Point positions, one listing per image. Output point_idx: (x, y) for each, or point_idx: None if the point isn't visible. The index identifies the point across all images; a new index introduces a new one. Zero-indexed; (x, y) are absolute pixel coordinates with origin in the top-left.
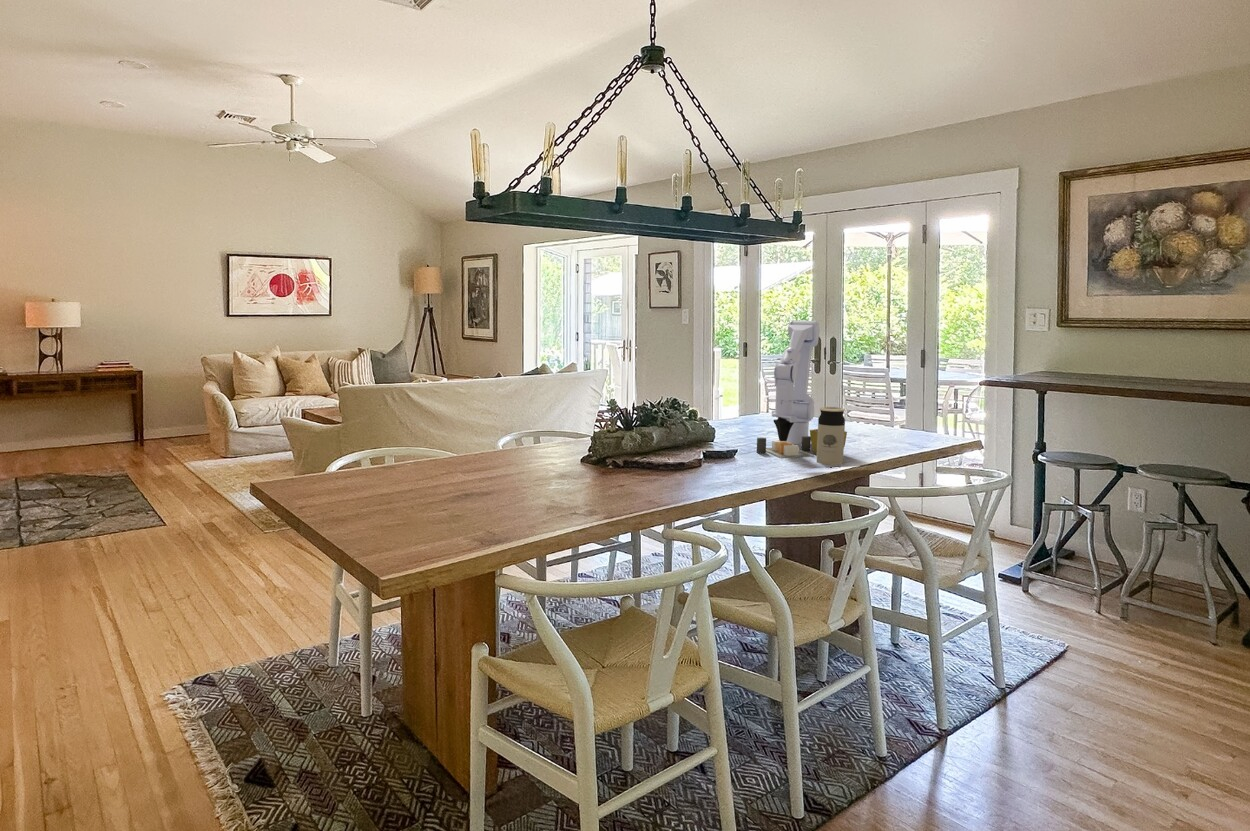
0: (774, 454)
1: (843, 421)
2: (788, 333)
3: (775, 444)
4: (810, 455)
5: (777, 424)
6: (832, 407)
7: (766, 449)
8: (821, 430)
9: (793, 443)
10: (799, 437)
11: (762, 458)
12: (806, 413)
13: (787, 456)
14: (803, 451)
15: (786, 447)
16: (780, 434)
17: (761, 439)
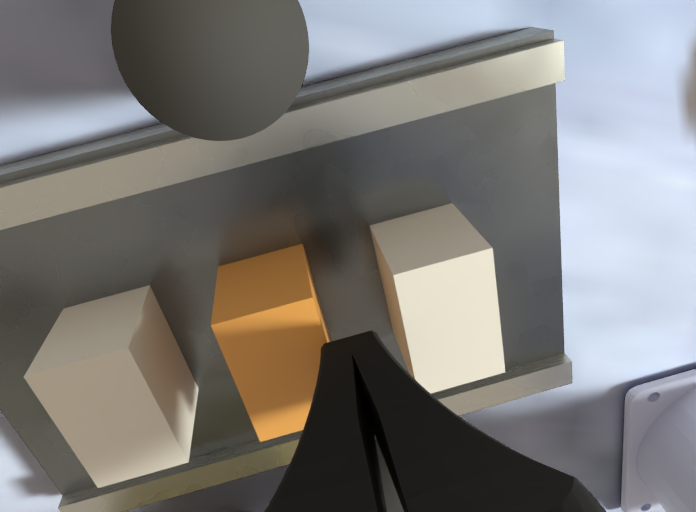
0: (37, 175)
1: None
2: None
3: (385, 260)
4: (69, 500)
5: (404, 501)
6: None
7: (354, 125)
8: None
9: (681, 420)
10: (693, 503)
11: (76, 11)
12: None
13: (13, 307)
14: (255, 466)
15: (55, 358)
16: (313, 401)
17: (116, 23)
